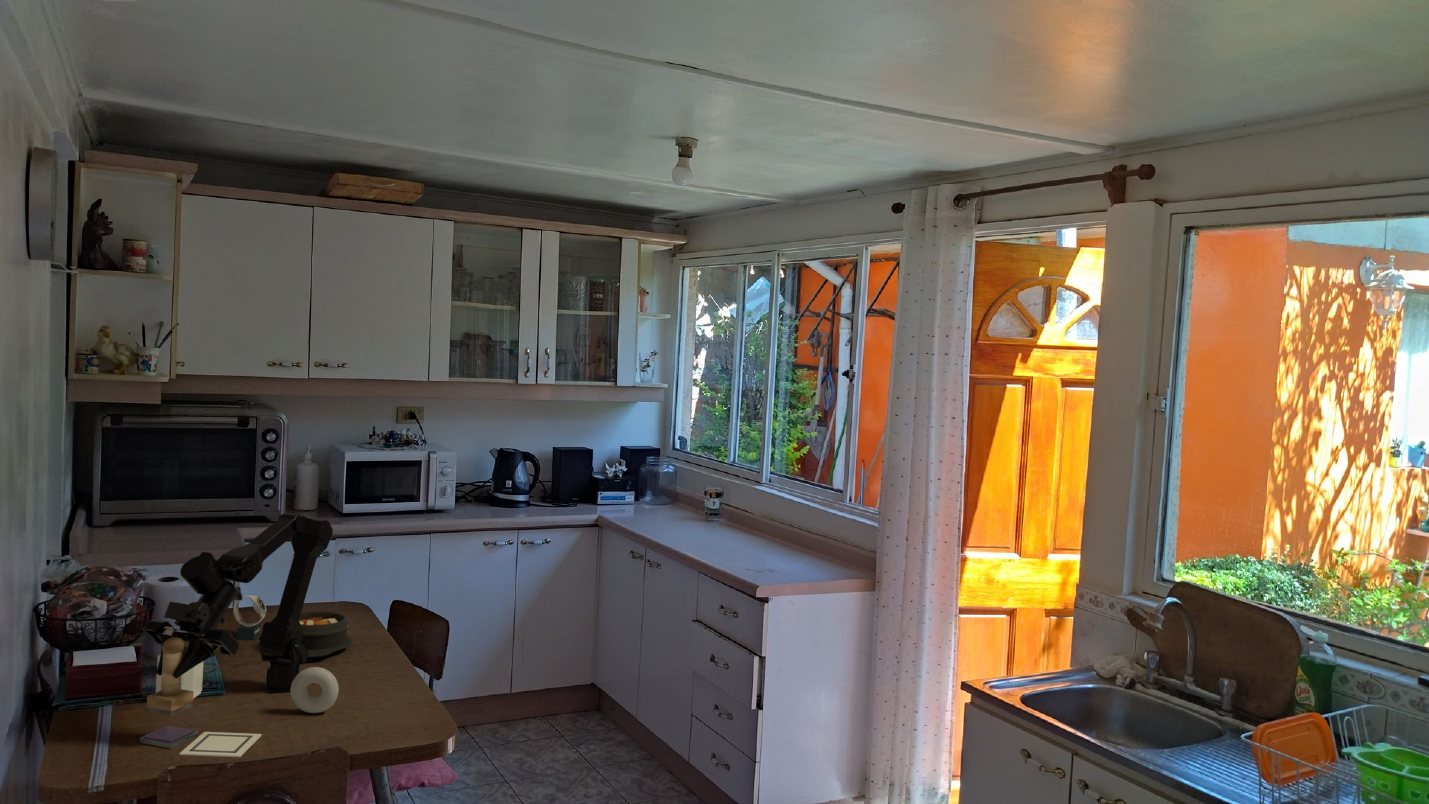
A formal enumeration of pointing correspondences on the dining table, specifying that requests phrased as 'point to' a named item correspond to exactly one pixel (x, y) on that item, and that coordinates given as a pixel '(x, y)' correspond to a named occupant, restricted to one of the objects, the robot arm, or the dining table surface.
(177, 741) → the ink pad
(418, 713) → the dining table surface
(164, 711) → the stamp
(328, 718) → the dining table surface
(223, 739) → the print card
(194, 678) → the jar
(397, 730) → the dining table surface
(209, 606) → the robot arm
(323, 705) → the donut
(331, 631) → the casserole
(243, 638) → the watch
